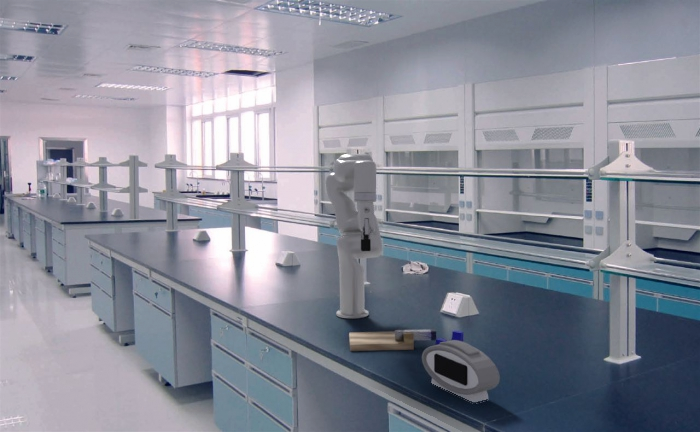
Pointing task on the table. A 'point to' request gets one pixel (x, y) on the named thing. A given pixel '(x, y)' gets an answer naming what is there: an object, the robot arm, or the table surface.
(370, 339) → the stool seat
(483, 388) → the alarm clock
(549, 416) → the table surface
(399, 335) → the folding leg
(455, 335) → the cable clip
